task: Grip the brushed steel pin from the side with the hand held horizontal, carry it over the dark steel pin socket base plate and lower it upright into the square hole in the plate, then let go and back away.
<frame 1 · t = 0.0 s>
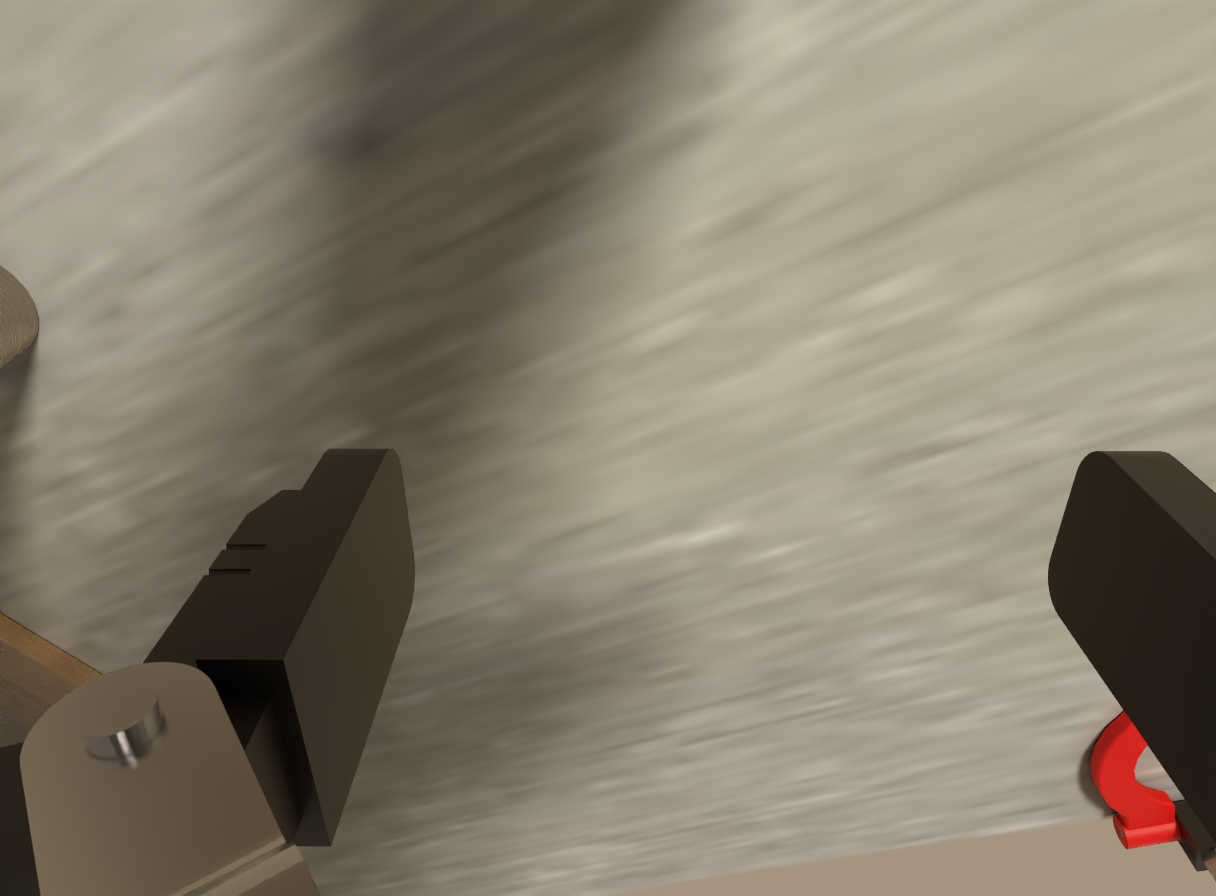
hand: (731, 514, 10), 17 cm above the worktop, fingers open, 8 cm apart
tow hook: (1188, 746, 39), on the worktop
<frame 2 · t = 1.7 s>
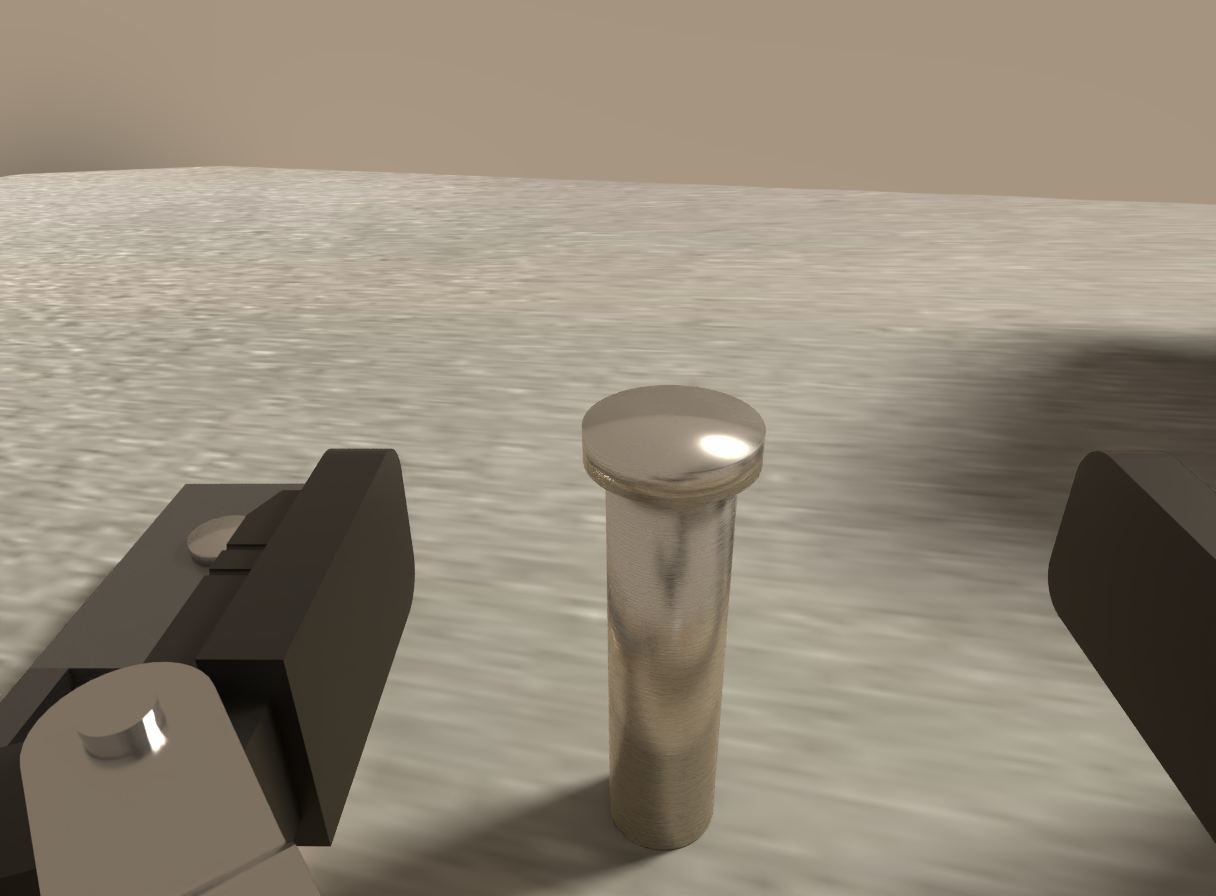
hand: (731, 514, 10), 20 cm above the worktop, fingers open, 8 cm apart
pin socket base plate: (136, 805, 30), on the worktop
steel pin: (661, 803, 30), on the worktop
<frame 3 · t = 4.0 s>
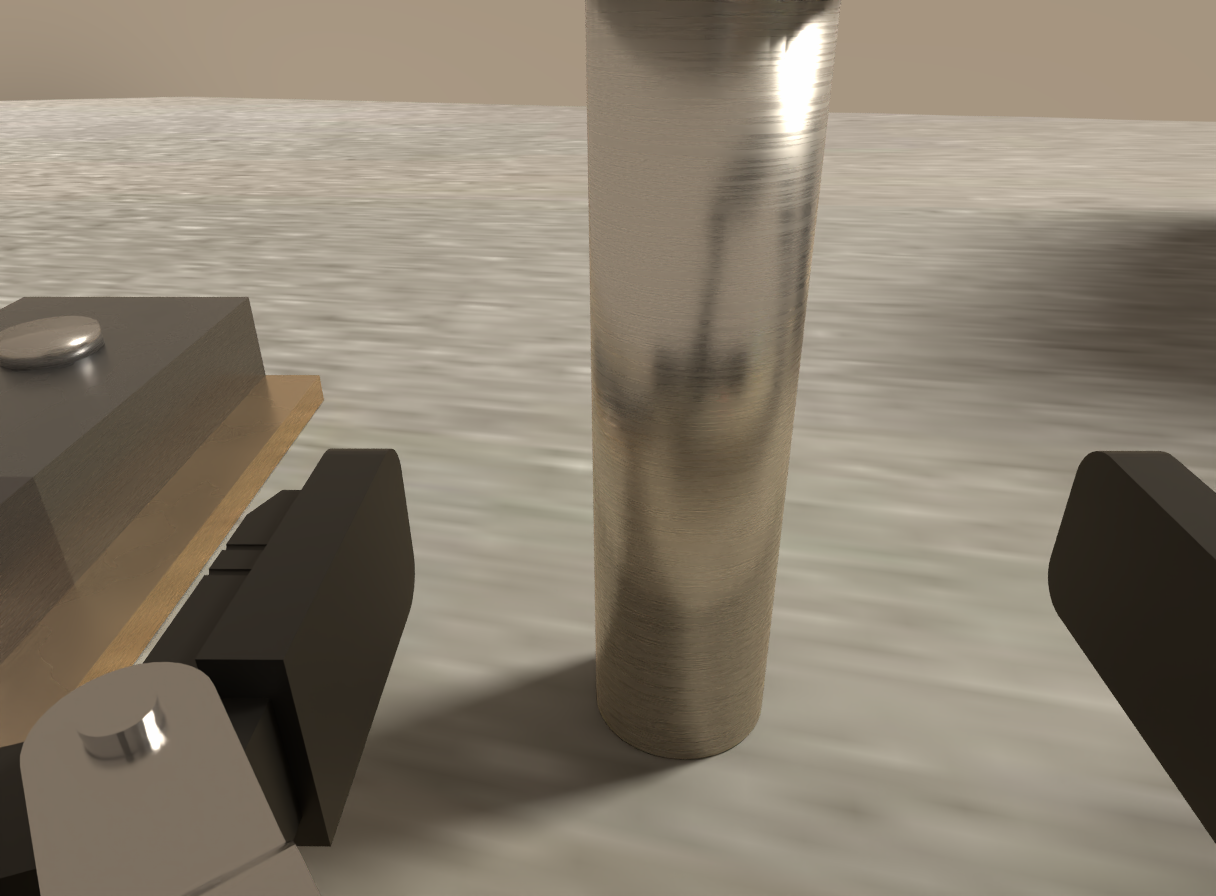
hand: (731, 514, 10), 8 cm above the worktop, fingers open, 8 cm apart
steel pin: (678, 693, 19), on the worktop
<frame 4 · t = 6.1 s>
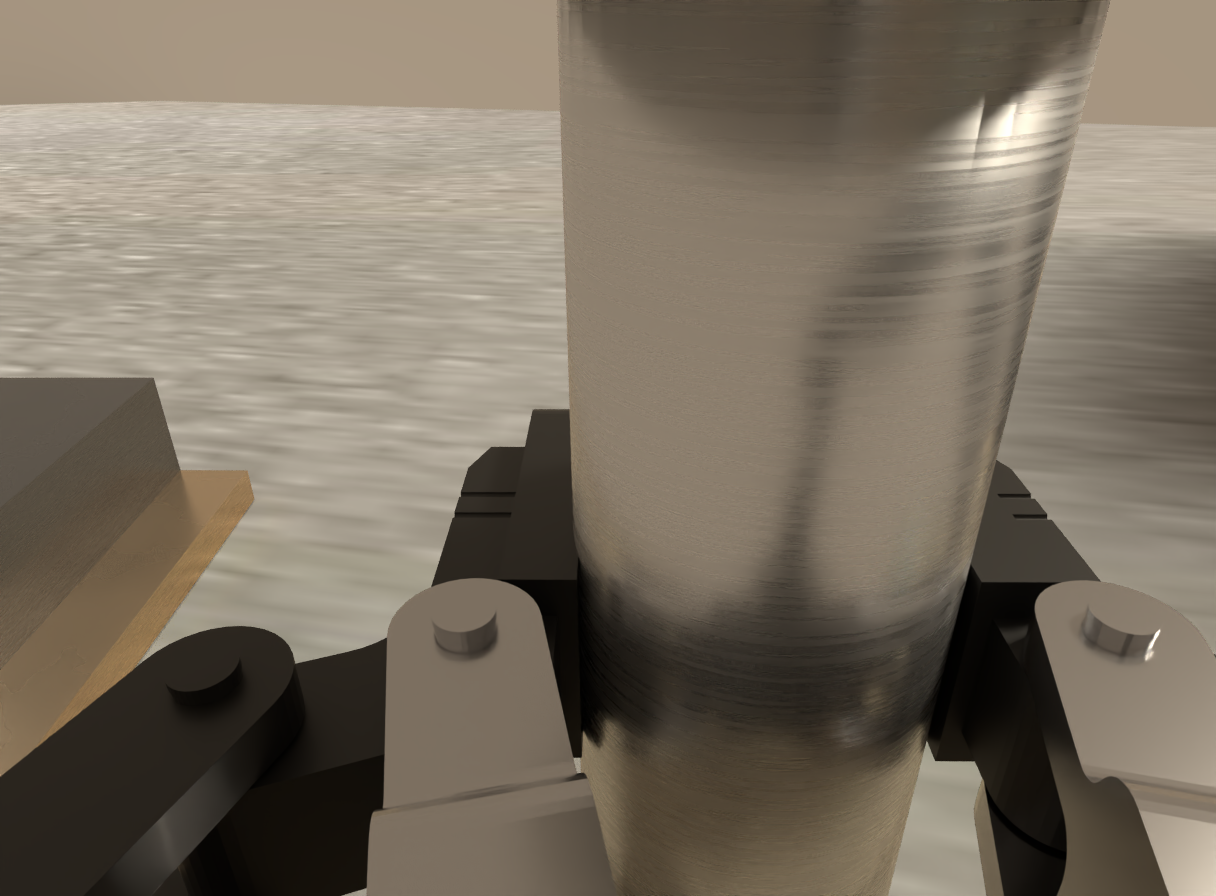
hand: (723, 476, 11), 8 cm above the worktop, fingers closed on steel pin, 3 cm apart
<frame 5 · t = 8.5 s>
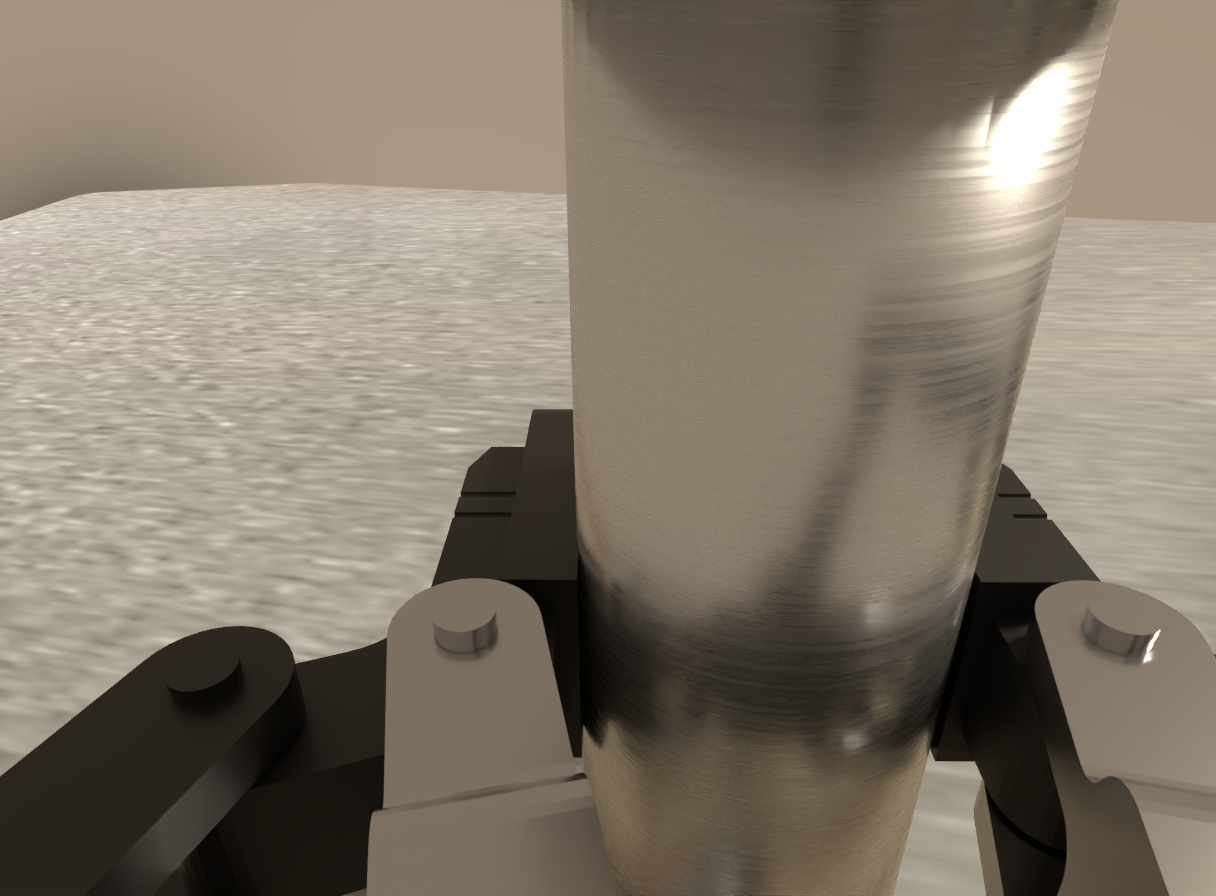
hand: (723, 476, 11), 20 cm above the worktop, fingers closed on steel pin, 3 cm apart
when the fingers open (10 cm above the worktop, at t = 10.9 s): steel pin drops 1 cm, resting on pin socket base plate.
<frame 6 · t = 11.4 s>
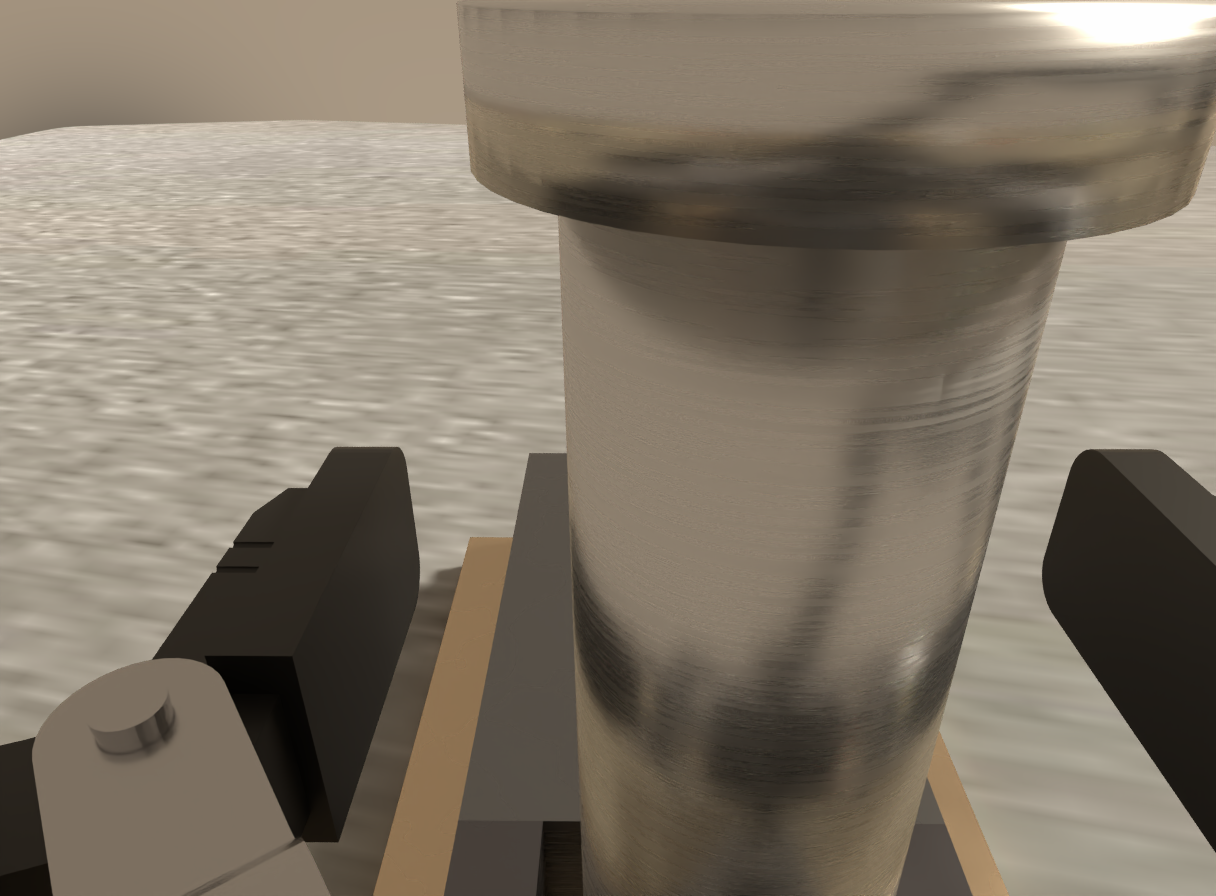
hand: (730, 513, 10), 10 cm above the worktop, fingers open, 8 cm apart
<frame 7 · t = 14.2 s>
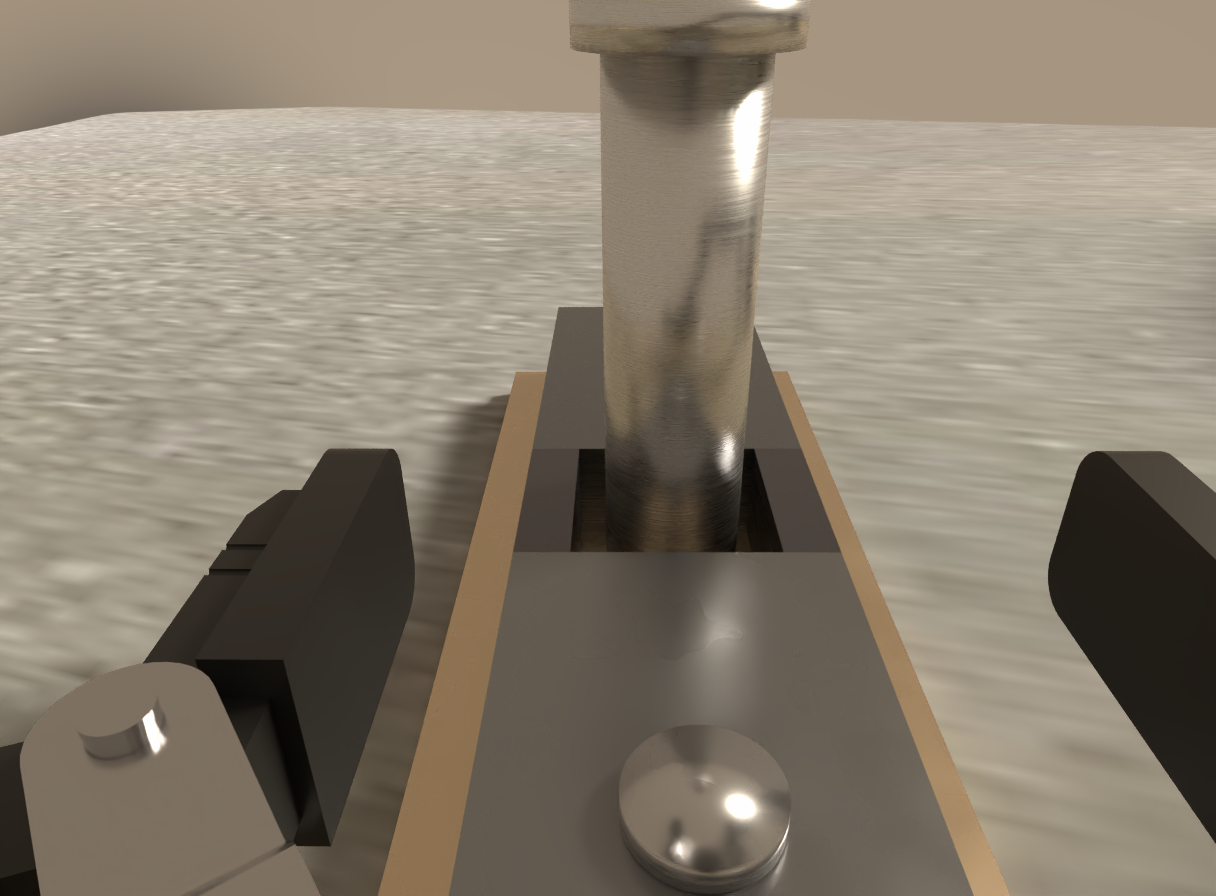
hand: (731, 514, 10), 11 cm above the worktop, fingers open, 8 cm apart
pin socket base plate: (667, 610, 25), on the worktop
steel pin: (669, 585, 24), point 1 cm above the worktop, touching pin socket base plate
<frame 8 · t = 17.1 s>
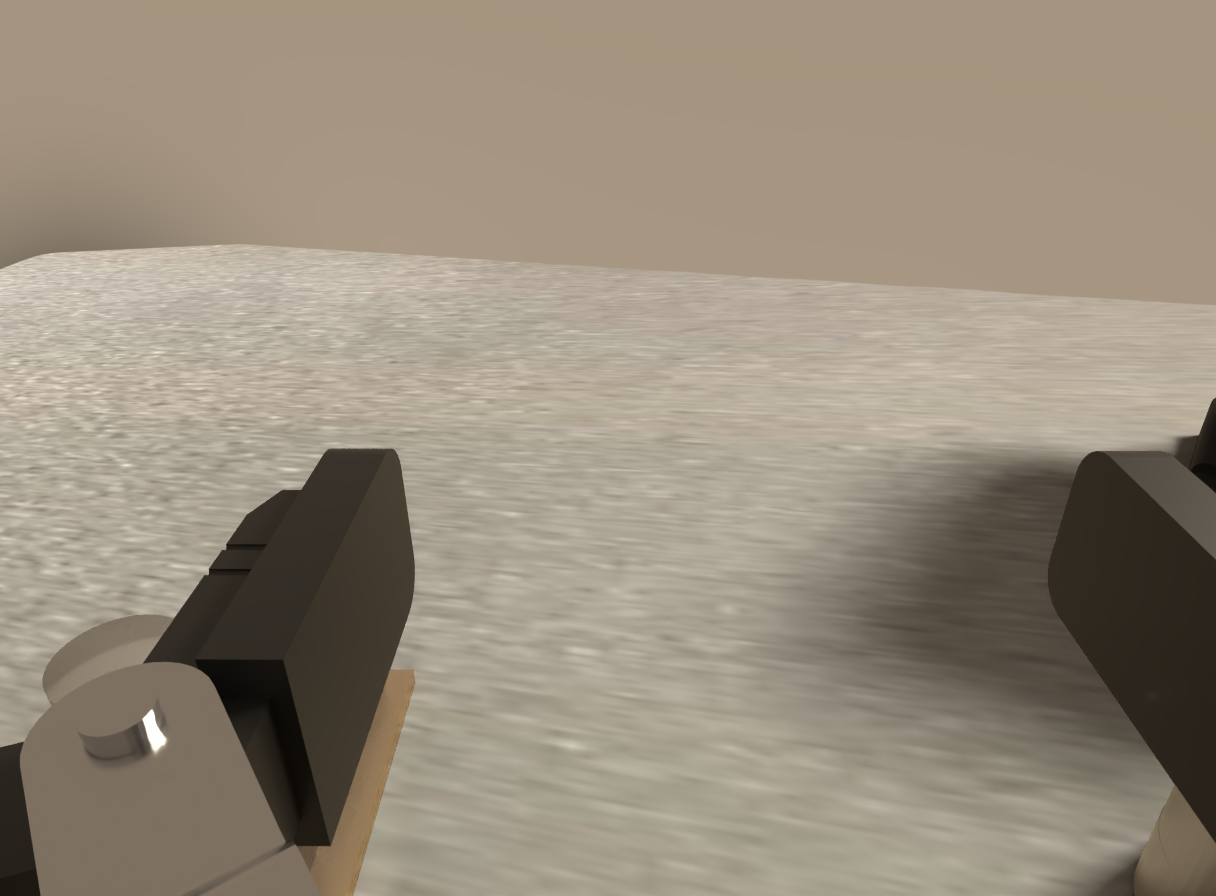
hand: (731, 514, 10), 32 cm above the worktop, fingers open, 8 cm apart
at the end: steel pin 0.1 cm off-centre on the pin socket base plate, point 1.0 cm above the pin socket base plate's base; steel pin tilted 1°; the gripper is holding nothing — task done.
